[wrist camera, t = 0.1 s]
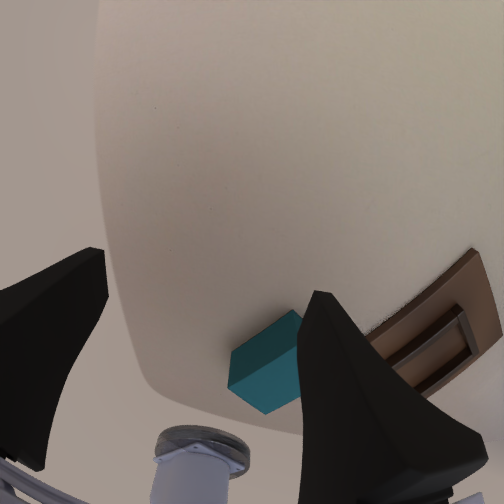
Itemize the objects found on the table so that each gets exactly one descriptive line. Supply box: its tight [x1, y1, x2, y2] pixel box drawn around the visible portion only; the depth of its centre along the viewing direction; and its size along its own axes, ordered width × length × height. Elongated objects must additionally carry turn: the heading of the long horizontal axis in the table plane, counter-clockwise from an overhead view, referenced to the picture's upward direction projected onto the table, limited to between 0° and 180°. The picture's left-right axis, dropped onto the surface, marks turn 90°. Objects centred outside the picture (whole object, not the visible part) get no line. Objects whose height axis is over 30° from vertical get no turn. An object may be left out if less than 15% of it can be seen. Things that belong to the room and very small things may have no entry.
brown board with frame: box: [366, 248, 503, 399], centre depth 21 cm, size 16×12×2 cm
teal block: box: [227, 310, 303, 415], centre depth 20 cm, size 6×4×4 cm, turn 132°
